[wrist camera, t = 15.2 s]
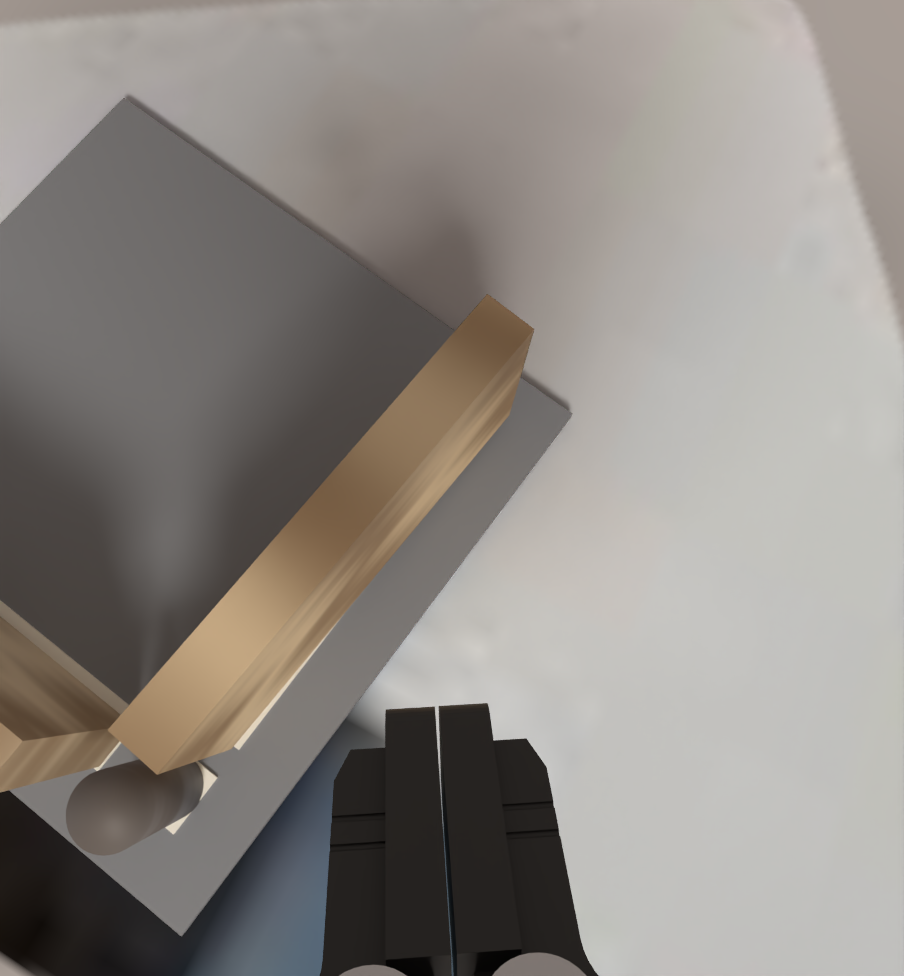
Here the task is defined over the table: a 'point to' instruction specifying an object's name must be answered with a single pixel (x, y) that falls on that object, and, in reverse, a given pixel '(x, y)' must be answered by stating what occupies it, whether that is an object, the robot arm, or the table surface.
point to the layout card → (202, 457)
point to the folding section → (330, 548)
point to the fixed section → (80, 753)
